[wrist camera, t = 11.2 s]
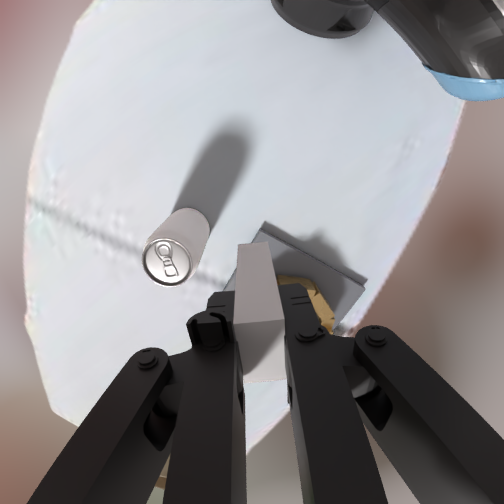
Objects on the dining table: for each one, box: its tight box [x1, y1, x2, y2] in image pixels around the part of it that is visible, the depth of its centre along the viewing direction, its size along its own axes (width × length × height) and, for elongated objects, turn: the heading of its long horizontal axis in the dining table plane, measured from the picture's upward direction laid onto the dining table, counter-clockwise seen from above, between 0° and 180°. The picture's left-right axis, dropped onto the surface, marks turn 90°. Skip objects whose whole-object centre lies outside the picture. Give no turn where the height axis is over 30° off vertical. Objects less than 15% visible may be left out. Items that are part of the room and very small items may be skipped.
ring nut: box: [276, 275, 335, 335], centre depth 41 cm, size 21×14×4 cm, turn 35°
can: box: [142, 208, 210, 287], centre depth 33 cm, size 6×6×12 cm
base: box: [223, 229, 365, 330], centre depth 40 cm, size 20×20×8 cm
